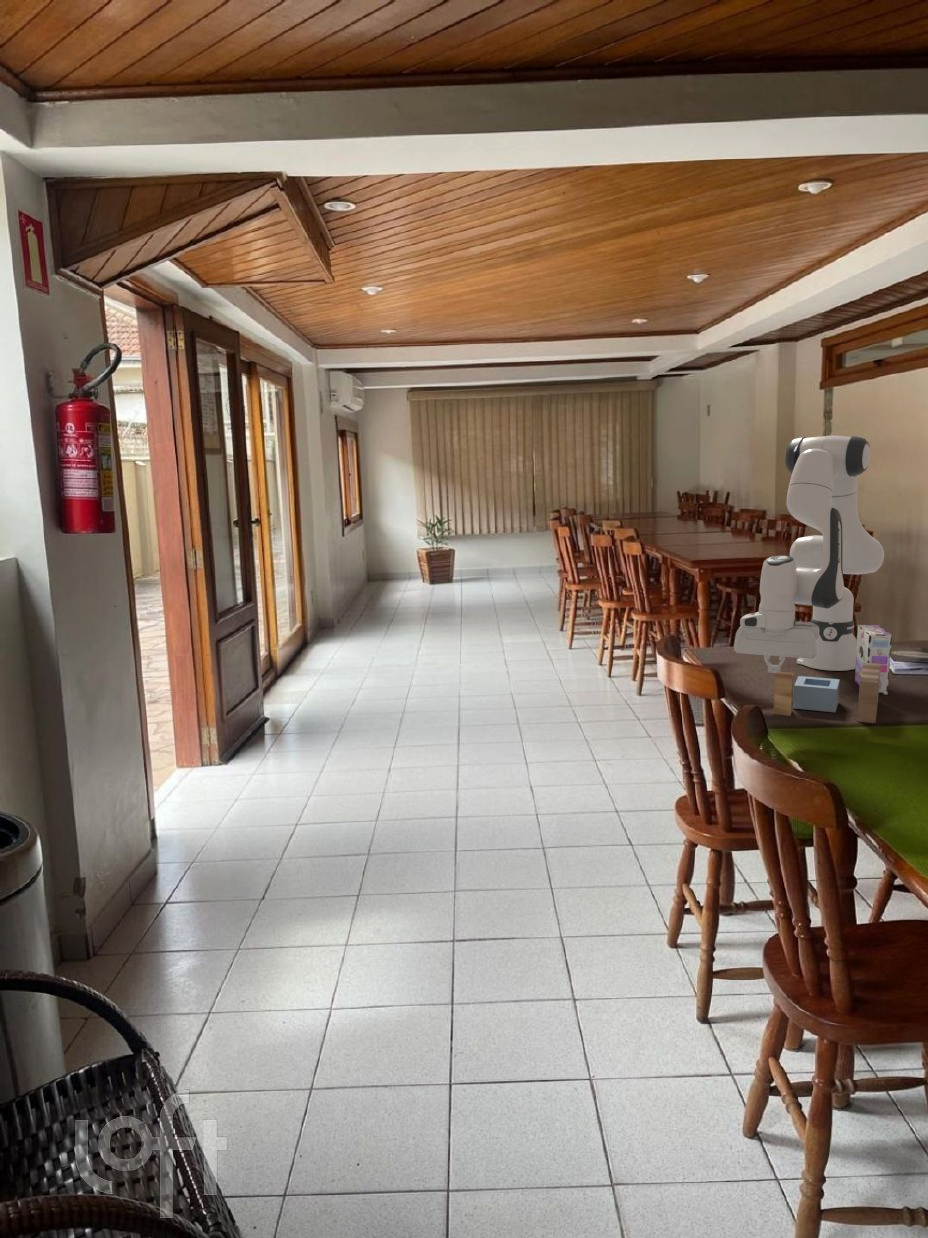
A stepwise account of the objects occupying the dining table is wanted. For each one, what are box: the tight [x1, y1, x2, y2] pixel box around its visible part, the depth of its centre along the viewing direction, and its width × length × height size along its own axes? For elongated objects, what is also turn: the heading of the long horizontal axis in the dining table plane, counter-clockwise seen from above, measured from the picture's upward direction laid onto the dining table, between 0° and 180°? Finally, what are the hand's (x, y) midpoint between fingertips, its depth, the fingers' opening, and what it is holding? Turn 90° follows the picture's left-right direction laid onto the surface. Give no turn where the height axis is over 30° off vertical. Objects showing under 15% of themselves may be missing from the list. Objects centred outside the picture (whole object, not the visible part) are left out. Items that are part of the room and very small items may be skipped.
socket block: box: [792, 675, 841, 713], centre depth 229 cm, size 10×10×6 cm
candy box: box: [854, 624, 893, 696], centre depth 243 cm, size 14×6×16 cm, turn 168°
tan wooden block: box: [772, 671, 795, 717], centre depth 224 cm, size 4×4×10 cm
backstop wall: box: [856, 662, 880, 724], centre depth 223 cm, size 20×4×10 cm, turn 154°
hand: (773, 672), depth 232 cm, fingers closed
